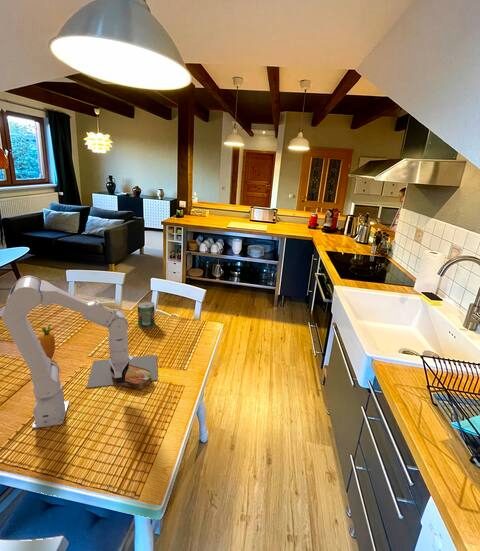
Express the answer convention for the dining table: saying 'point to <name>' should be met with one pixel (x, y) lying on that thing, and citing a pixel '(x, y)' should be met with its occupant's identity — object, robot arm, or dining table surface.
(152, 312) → the canned tomato
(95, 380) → the mat
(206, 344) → the dining table surface
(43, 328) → the carrot
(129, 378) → the tin
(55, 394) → the robot arm
